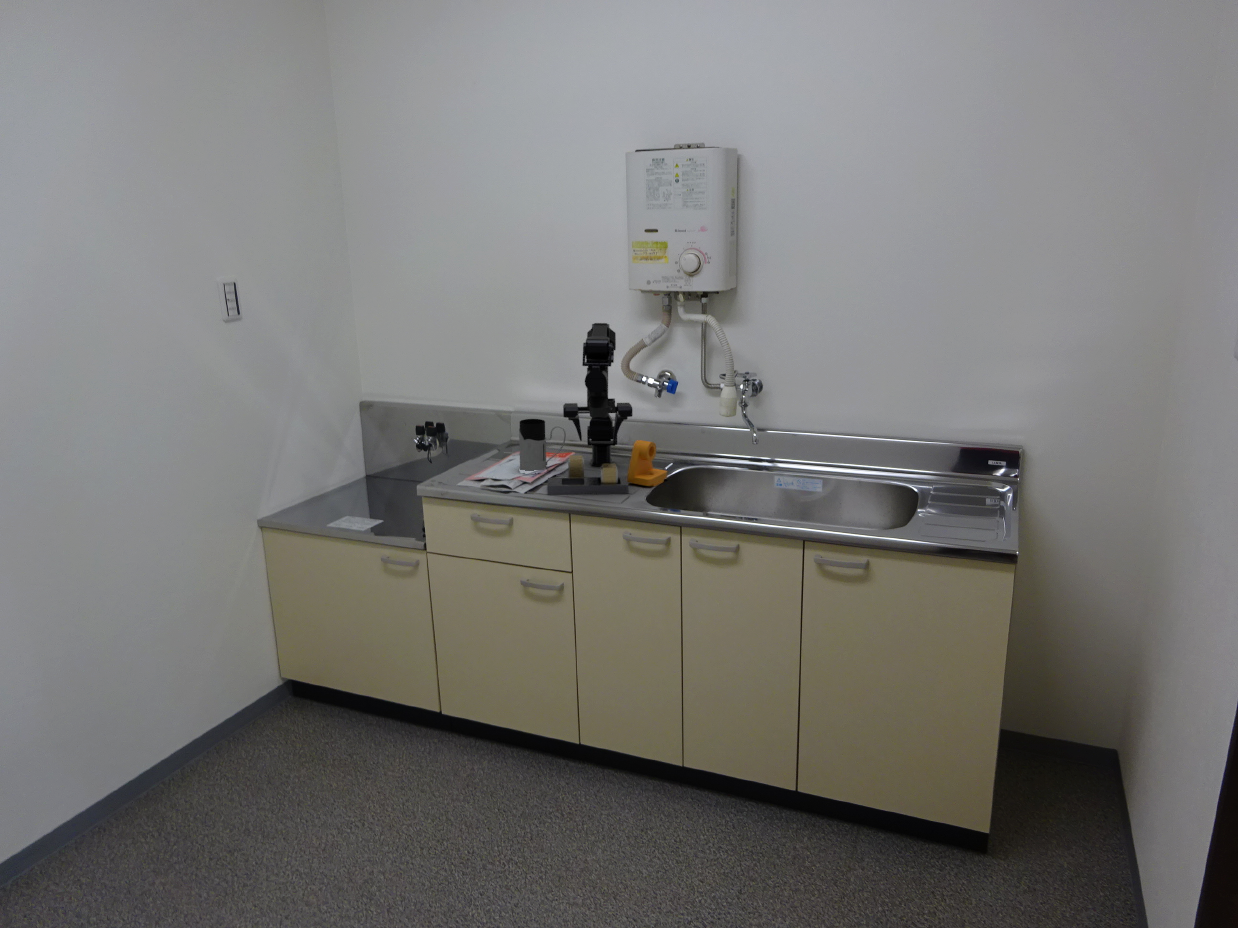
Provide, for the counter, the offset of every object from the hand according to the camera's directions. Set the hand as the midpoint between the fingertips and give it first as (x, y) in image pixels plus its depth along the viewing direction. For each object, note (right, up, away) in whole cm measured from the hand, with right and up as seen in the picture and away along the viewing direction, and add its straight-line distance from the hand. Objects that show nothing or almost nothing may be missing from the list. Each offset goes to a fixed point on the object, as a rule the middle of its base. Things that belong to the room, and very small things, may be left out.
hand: (597, 440), depth 241 cm
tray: (-3, -14, +2) cm, 14 cm away
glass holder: (-17, -9, +20) cm, 28 cm away
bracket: (+14, -12, +10) cm, 21 cm away
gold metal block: (-6, -11, +10) cm, 17 cm away
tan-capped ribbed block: (+3, -14, +2) cm, 14 cm away
